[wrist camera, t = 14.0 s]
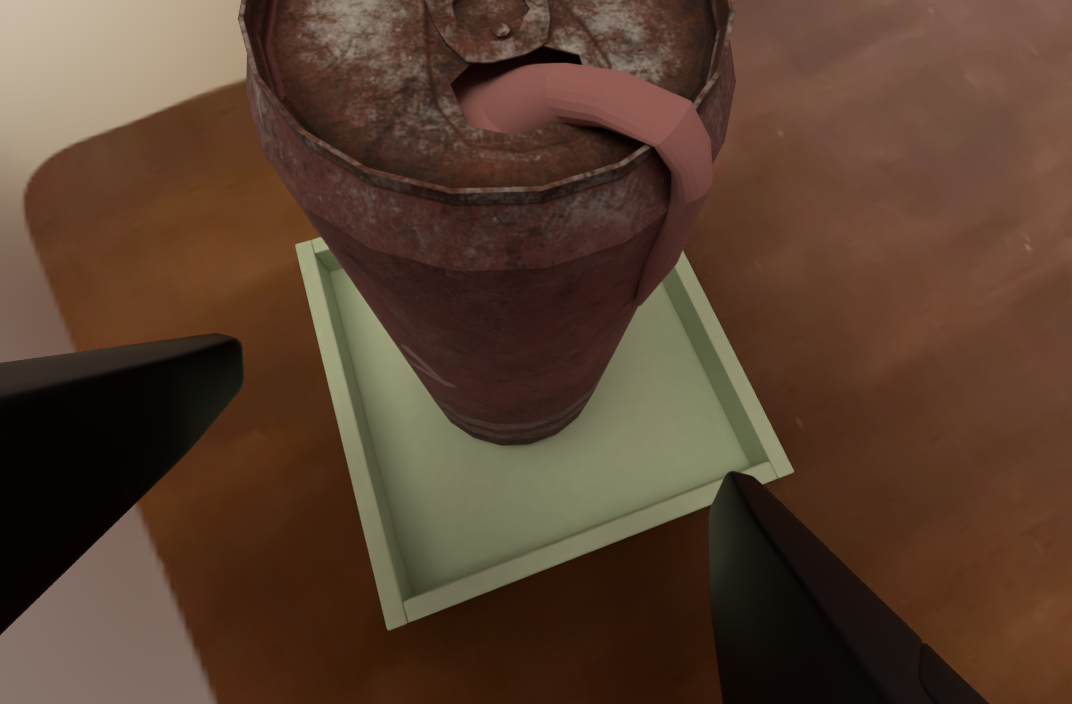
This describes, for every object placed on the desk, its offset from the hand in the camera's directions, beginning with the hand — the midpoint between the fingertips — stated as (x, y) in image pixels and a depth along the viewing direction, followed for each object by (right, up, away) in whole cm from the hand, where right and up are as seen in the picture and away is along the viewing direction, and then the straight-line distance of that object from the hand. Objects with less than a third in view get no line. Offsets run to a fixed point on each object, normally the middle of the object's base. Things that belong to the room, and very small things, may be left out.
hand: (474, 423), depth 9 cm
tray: (+1, +1, +10) cm, 10 cm away
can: (0, +1, +10) cm, 10 cm away
